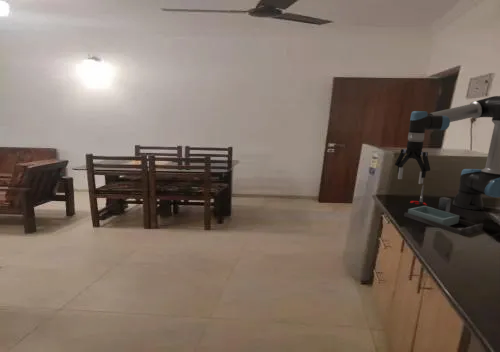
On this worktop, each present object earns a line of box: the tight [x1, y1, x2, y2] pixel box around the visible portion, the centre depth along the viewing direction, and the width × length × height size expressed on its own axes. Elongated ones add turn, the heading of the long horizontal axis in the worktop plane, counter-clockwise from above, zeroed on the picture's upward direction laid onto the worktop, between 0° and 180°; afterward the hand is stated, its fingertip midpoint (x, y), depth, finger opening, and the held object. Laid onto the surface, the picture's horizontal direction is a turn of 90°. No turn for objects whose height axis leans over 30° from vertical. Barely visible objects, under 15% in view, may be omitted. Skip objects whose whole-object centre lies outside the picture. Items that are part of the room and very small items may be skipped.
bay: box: [403, 211, 484, 237], centre depth 155 cm, size 17×29×4 cm, turn 29°
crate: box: [407, 205, 460, 227], centre depth 159 cm, size 14×18×4 cm
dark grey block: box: [437, 196, 452, 213], centre depth 168 cm, size 4×4×10 cm
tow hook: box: [409, 184, 428, 207], centre depth 190 cm, size 8×13×9 cm
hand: (409, 181), depth 168 cm, fingers open, 11 cm apart
